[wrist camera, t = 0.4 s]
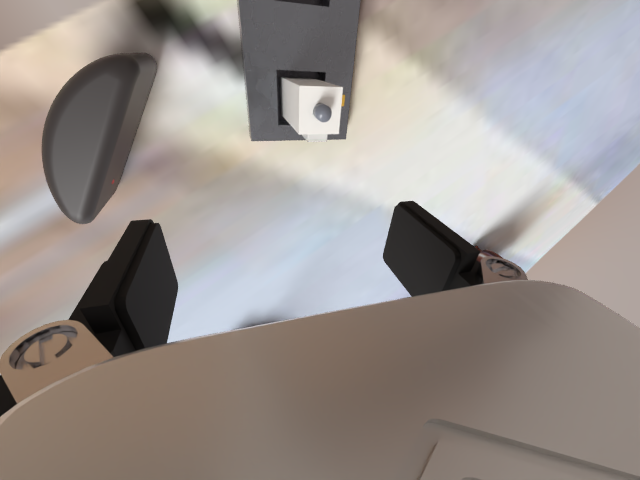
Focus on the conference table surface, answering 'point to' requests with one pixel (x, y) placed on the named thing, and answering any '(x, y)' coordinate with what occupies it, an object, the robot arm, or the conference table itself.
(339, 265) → the conference table surface
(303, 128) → the plug
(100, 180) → the leaning round-cornered charcoal block
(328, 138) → the panel
